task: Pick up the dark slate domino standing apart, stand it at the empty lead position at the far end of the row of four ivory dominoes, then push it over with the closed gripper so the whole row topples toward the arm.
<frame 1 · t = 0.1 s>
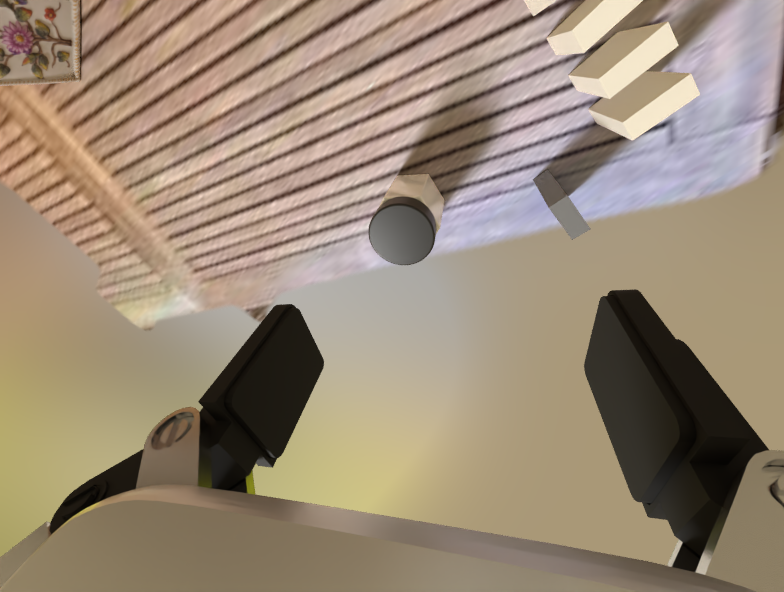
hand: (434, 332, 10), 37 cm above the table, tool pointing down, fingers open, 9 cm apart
ivory domino 2: (615, 98, 34), on the table
jar: (414, 200, 45), on the table
slate domino: (550, 188, 41), on the table
ivory domino 3: (596, 62, 32), on the table
decorative jar: (38, 9, 40), on the table
ivory domino 4: (575, 24, 31), on the table
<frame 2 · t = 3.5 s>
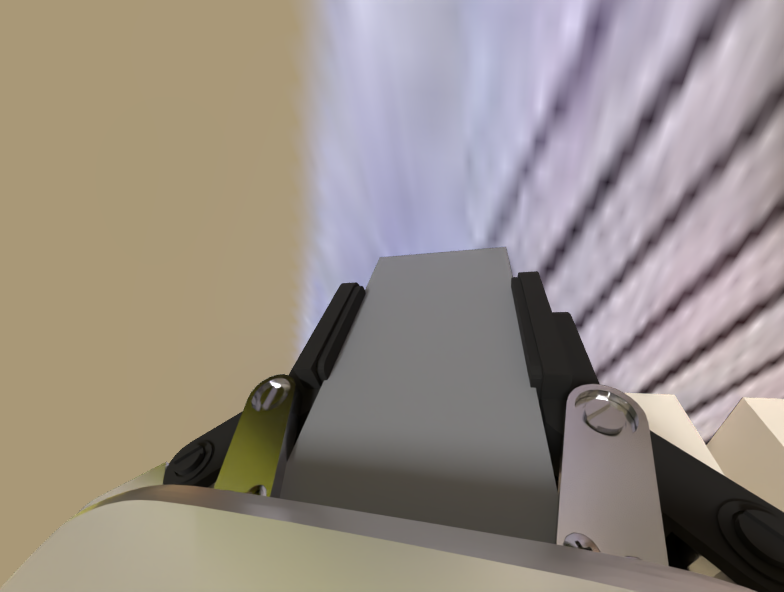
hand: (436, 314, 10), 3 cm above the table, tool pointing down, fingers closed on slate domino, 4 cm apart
slate domino: (441, 273, 13), on the table, touching gripper
ivory domino 3: (635, 423, 16), on the table
ivory domino 4: (745, 429, 15), on the table
when the fingers open (3 cm above the table, at t = 8.5 s): slate domino stays where it is, on the table.
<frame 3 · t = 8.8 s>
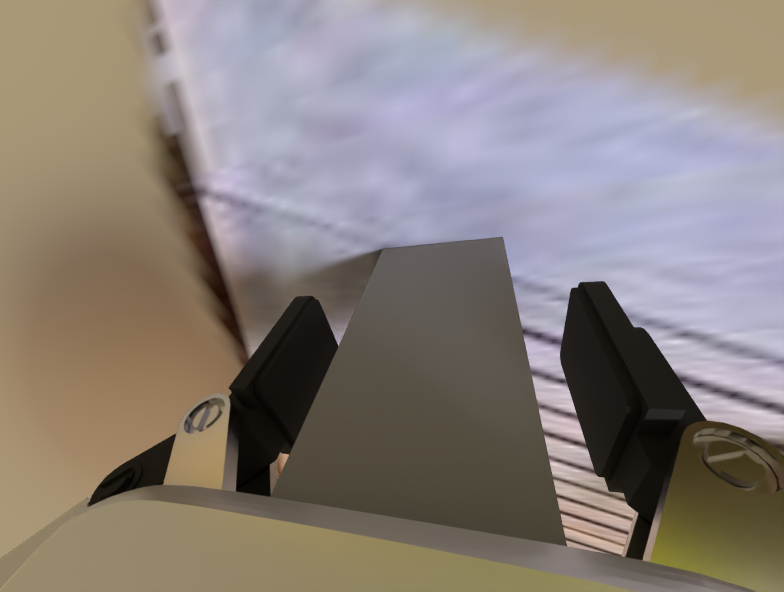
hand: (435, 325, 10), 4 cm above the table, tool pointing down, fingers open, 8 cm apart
slate domino: (442, 263, 13), on the table
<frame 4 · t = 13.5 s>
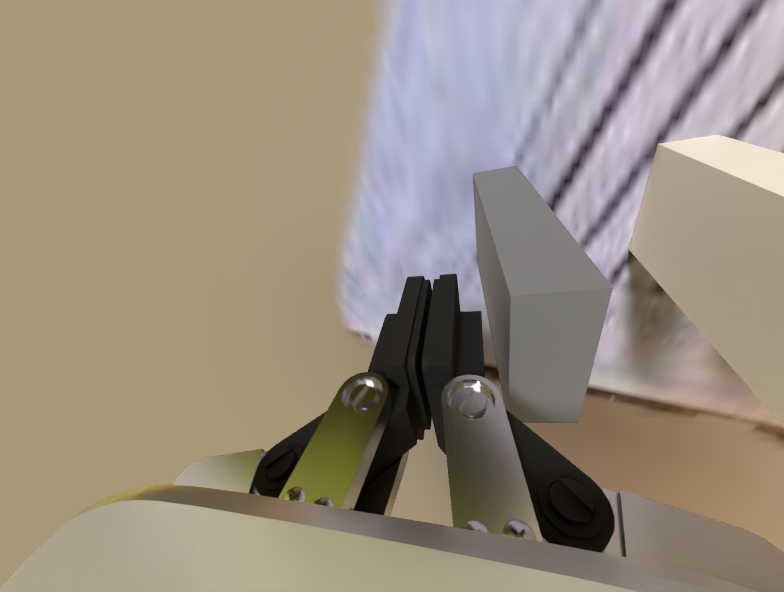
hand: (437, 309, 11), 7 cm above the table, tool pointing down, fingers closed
ivory domino 2: (667, 199, 14), on the table
slate domino: (495, 219, 16), on the table, touching gripper
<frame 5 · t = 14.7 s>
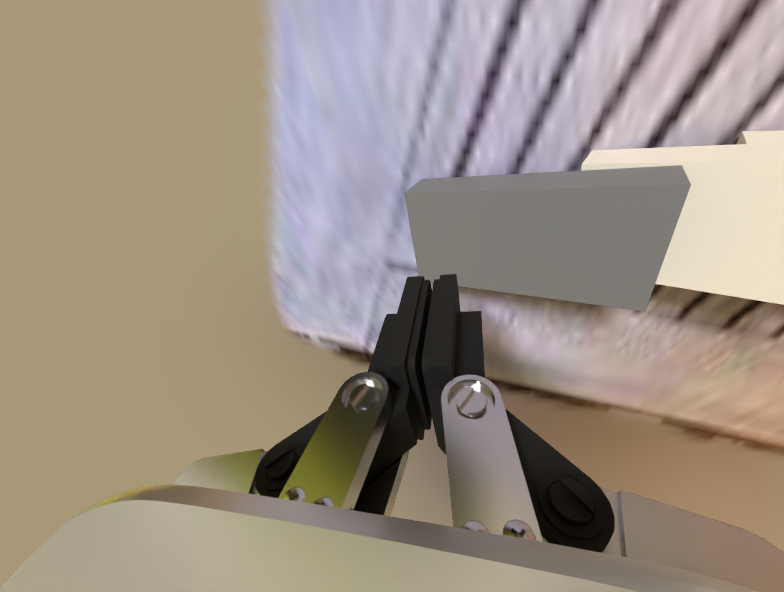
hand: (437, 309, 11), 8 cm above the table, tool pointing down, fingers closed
ivory domino 2: (577, 213, 14), point 1 cm above the table, tilted 64°, touching ivory domino 3, slate domino
slate domino: (420, 232, 16), point 1 cm above the table, tilted 72°, touching ivory domino 2
ivory domino 3: (711, 202, 13), point 1 cm above the table, tilted 64°, touching ivory domino 2, ivory domino 4
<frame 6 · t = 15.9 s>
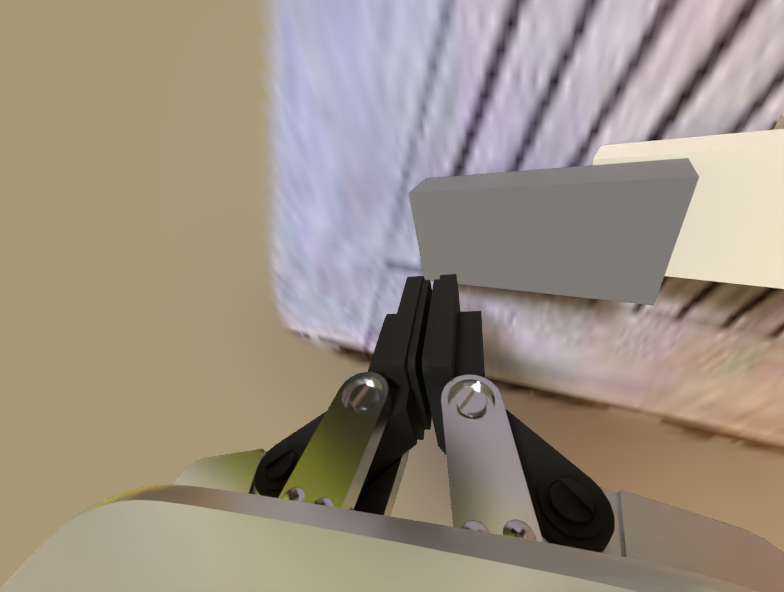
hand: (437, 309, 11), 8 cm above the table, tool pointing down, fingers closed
ivory domino 2: (589, 209, 14), point 1 cm above the table, tilted 66°, touching ivory domino 3, slate domino
slate domino: (425, 231, 16), point 1 cm above the table, tilted 73°, touching ivory domino 2
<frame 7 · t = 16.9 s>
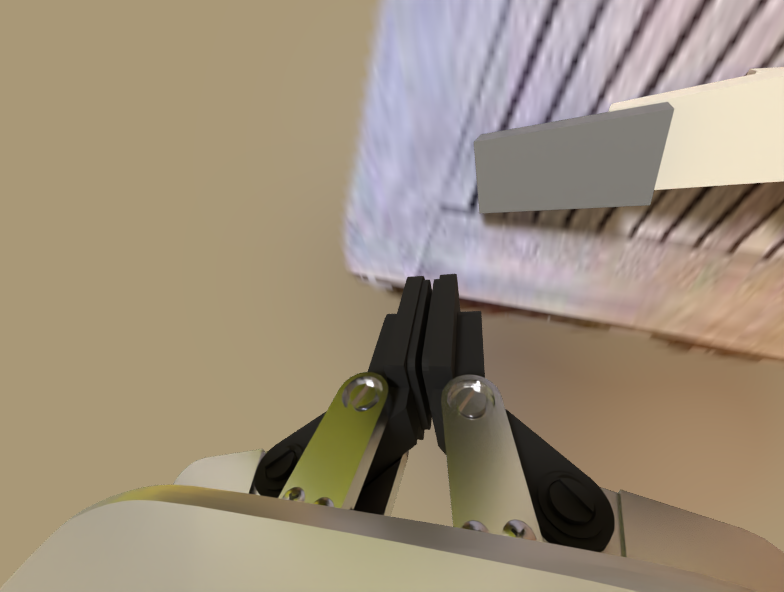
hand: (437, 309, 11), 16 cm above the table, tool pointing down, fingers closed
ivory domino 2: (605, 150, 20), point 1 cm above the table, tilted 67°, touching ivory domino 3, slate domino
slate domino: (480, 175, 22), point 1 cm above the table, tilted 73°, touching ivory domino 2
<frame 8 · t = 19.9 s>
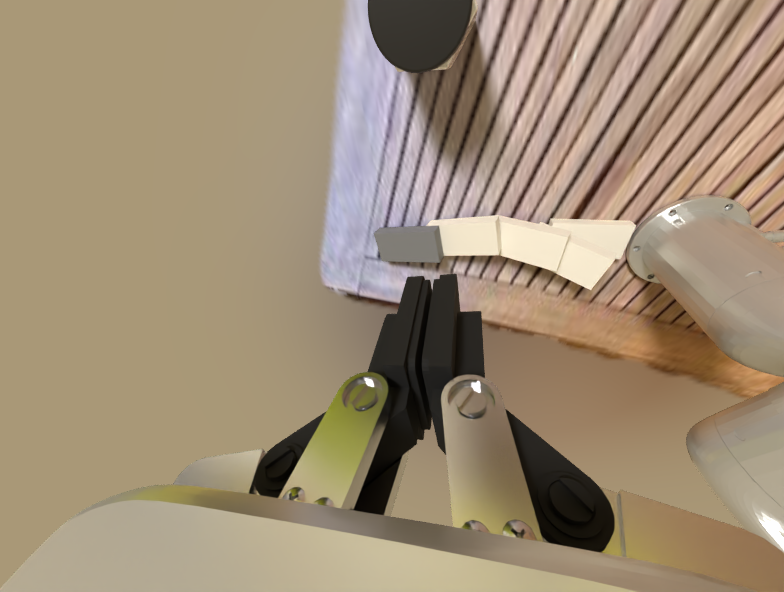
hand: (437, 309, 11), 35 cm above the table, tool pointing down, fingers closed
ivory domino 2: (431, 238, 46), point 1 cm above the table, tilted 74°, touching ivory domino 3, slate domino
ivory domino 5: (546, 236, 43), on the table, tilted 90°, touching ivory domino 4
jar: (432, 23, 32), on the table
slate domino: (380, 244, 49), point 1 cm above the table, tilted 75°, touching ivory domino 2
ivory domino 3: (490, 233, 44), point 1 cm above the table, tilted 63°, touching ivory domino 2, ivory domino 4
ivory domino 4: (530, 239, 43), point 1 cm above the table, tilted 64°, touching ivory domino 3, ivory domino 5
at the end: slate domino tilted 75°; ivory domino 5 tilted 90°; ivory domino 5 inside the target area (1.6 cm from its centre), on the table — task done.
